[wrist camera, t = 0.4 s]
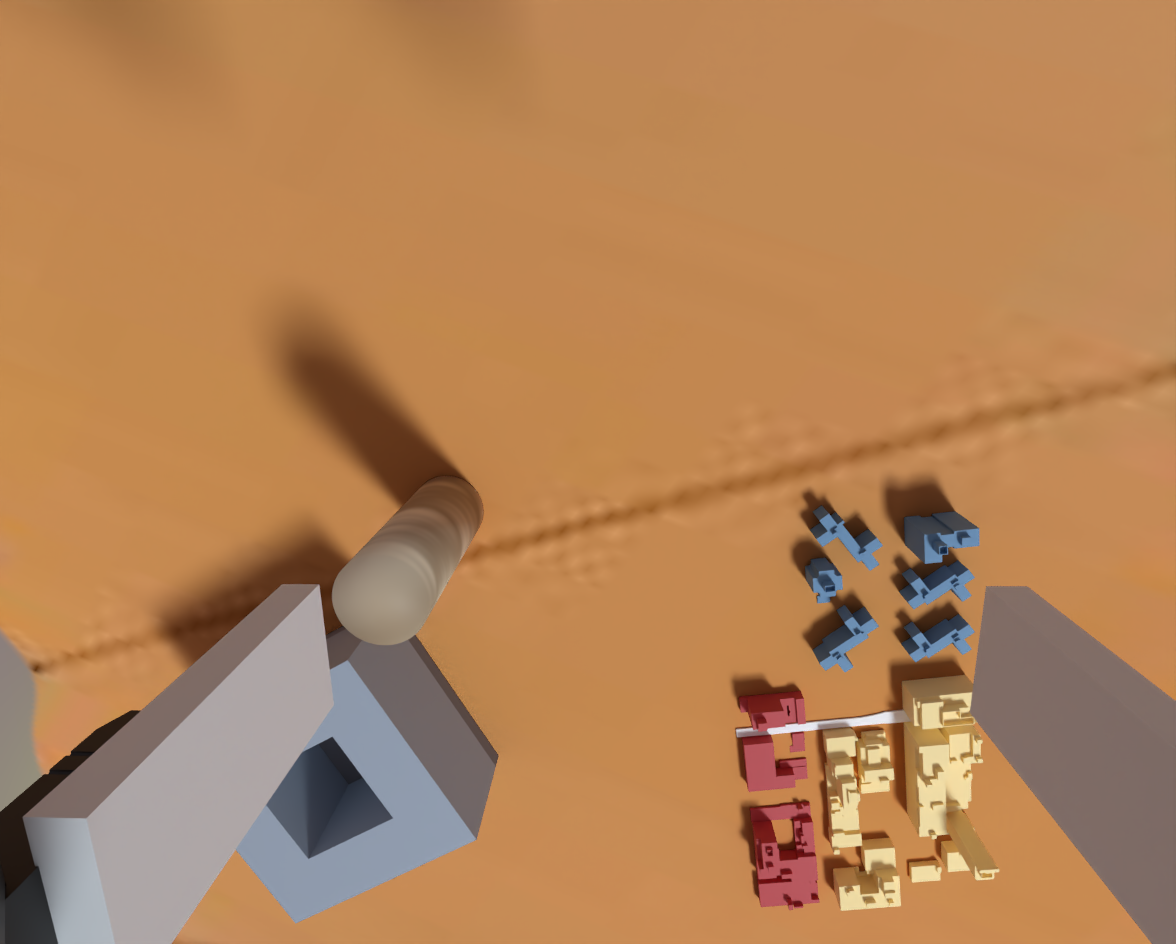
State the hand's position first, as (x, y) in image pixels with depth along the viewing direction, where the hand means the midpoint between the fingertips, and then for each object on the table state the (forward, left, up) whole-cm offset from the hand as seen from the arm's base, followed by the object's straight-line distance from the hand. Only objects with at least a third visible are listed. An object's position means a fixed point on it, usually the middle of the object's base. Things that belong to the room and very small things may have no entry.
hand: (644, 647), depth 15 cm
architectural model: (+31, -1, -27) cm, 41 cm away
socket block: (+9, -24, -26) cm, 36 cm away
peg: (0, -12, -26) cm, 28 cm away
